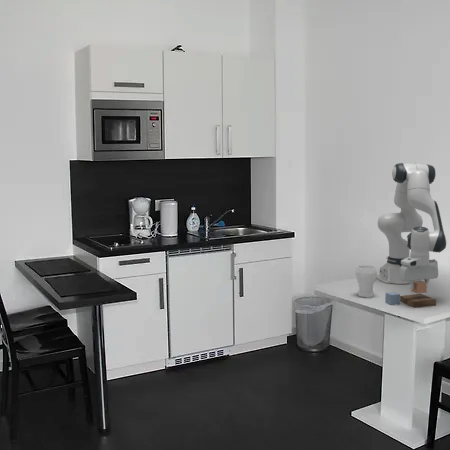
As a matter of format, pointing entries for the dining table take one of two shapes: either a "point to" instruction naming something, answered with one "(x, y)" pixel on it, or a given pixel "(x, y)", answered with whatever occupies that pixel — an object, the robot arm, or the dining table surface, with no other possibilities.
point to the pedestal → (418, 300)
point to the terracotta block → (419, 287)
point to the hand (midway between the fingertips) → (418, 288)
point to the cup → (366, 279)
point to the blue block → (392, 298)
